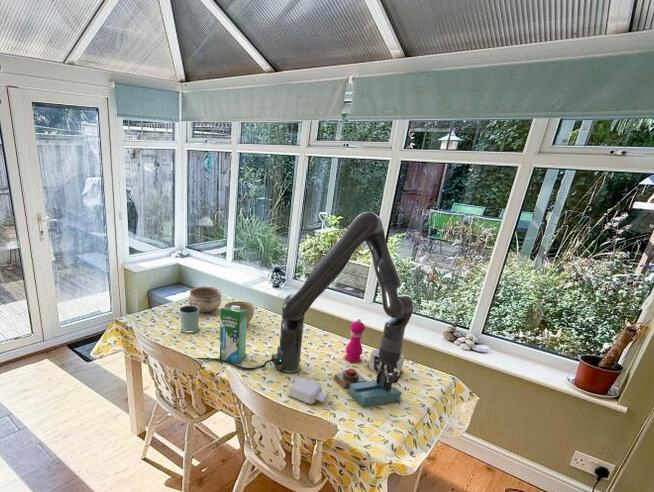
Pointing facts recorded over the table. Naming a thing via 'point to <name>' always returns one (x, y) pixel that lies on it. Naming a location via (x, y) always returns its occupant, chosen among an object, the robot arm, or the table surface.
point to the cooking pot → (205, 298)
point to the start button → (351, 372)
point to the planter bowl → (245, 306)
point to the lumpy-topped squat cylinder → (371, 365)
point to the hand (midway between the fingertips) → (383, 386)
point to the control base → (373, 393)
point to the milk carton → (233, 333)
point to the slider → (383, 380)
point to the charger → (308, 391)
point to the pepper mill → (355, 342)
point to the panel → (349, 379)
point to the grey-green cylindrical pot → (189, 318)
